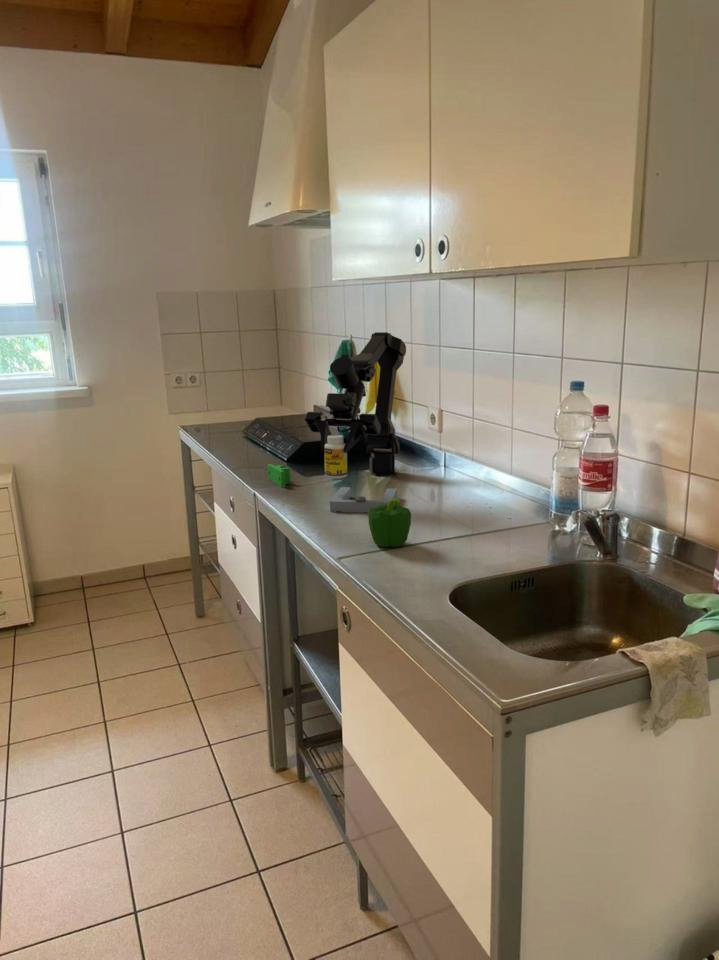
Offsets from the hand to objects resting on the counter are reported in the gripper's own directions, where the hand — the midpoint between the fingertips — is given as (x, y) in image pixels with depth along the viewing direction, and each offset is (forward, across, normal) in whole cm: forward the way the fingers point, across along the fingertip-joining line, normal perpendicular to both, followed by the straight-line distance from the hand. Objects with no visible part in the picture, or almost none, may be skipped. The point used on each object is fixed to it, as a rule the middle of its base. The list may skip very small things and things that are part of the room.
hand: (333, 451), depth 177 cm
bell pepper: (+28, +23, -9) cm, 37 cm away
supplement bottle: (+4, 0, +6) cm, 7 cm away
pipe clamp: (-1, -24, +21) cm, 31 cm away
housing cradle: (+9, +7, +10) cm, 15 cm away
